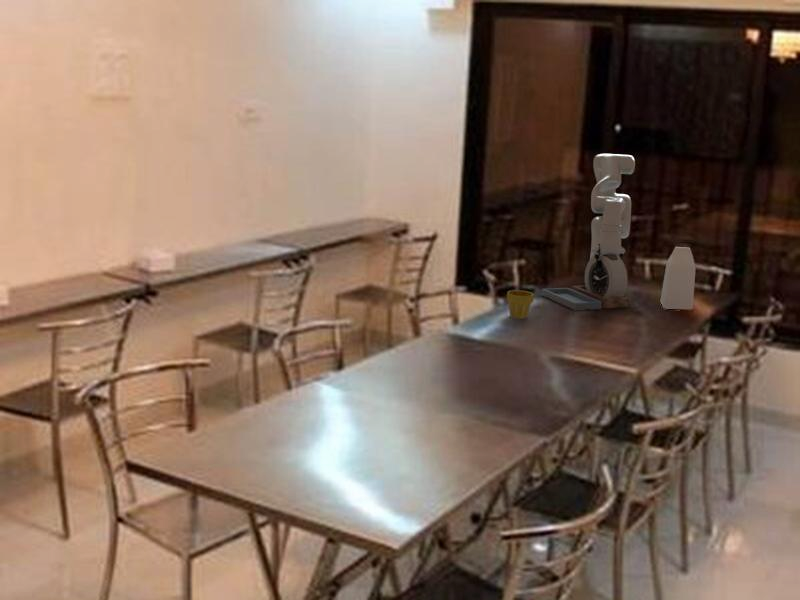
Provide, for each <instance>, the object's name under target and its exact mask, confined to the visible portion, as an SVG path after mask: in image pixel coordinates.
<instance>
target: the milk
mask: <svg viewBox="0 0 800 600" xmlns="http://www.w3.org/2000/svg"><path fill="white" fill-rule="evenodd" d="M695 263H696V262H695V259H694V256H693V252H692V249H691V248H690V247H685V246H684V247H683V246H682V247H681V246H675V247H674V248H673V251H672V253H671V254H670V256H669V258H668V259H667V261H666V263H665V264H666V265H665V272H664V277H663V283H662V290H661V294H660V301H659V302H661V304H662V306H663V307H662V306H661V307H662V309H663V308H665V309H664V310H666V309H694V296H695V295H694V294H695V283H696V282H695V281H696V280H695V279H696V264H695ZM661 304H660V305H661Z"/></svg>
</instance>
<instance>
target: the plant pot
mask: <svg viewBox="0 0 800 600" xmlns="http://www.w3.org/2000/svg"><path fill="white" fill-rule="evenodd" d="M506 300H507V302H508V308H509V317H510V318H512V319H519V320H520V319H521V320H522V319H523V320H524V319H527V317H528V314H529V311H530V308H531V305H532V304H533V302H534V293H533V292H531V291H527V290H519V289H517V290H516V289H515V290H514V289H513V290H508V291H507V293H506Z"/></svg>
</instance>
